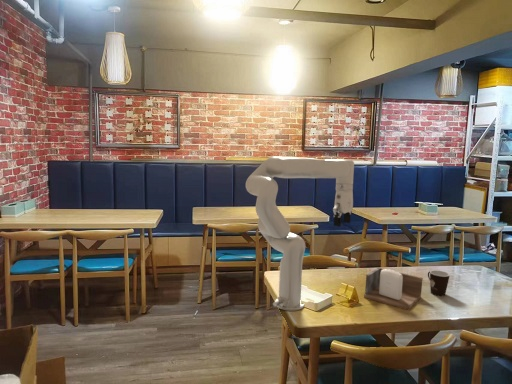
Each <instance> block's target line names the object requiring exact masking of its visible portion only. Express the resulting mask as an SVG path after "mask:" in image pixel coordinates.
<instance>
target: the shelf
mask: <svg viewBox="0 0 512 384" xmlns="http://www.w3.org/2000/svg"><path fill="white" fill-rule="evenodd" d="M383 269H384V268H382V267H381V268H380V267H376V268H375V269H374V270H372V271H370V272H369V273H367V274H365V276H366V277H365V288H364V289H365V291H364V294H363V298H364V299H367V300H370V301H375V302H378V303H383V304H386V305H389V306H393V307H396V308H399V309H403V310H408V311H409V310H410V309H411V308H412V307H413V306H414V305H415V304H416V303H417V302H418V301H419V300H420V299H421V298H422V290H423V277H420V276H417V275H412V274H407V273H403V272H399V273H400V274H402V276H403V282H402V297H401V299H400V300H397V299H393V298H390V297H387V296H384V295H381V294H379V285H380V273H381V270H383Z"/></svg>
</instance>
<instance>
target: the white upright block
mask: <svg viewBox="0 0 512 384" xmlns="http://www.w3.org/2000/svg"><path fill="white" fill-rule="evenodd" d="M382 269H383V270H381V273H380V285H379V294H381V295H384V296H387V297H390V298H393V299H397V300H400V299H401V297H402V282H403V276H402V274H400V273H401V272H399V271H397V270H393V269H389V268H387V269H386V268H382Z"/></svg>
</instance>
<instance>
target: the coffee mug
mask: <svg viewBox="0 0 512 384" xmlns="http://www.w3.org/2000/svg"><path fill="white" fill-rule="evenodd" d="M450 276H451V274H450V273H448V272H446V271H443V270H438V269H437V270H430V271H428V272H427V278H428V280H429V282H430V283H429V288H430V294H431V295H433V296H436V297H445V296H446V292H447V289H448V284H449V281H450Z"/></svg>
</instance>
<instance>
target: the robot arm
mask: <svg viewBox="0 0 512 384" xmlns="http://www.w3.org/2000/svg"><path fill="white" fill-rule="evenodd" d="M354 171H355V162H354V161H353V160H352V159H331V158H330V159H329V158H326V159H319V158H315V157H314V158H311V157H283V156H270V157H268V158H267V159H265V160H264V161H263V162H262V163H261V164H259V166H258V167H257V168H256V169H255V170H253V172H252V173H251V174H250V175H249V176H248V178H247V179H246V181H245V189H246V191H247V193H249V194H250V195H253V196H254V197H255V196H256V202H255V213H256V215H257V217H258V218H257V229H258V230H259V232H260V233H261V235H262V236H263V238H264V239H265V240H266V241H267V243H268V244H269V245H270V246H271V248H273V249H274V250H275V251H278V252H280V253H282V254H283V255H282V257H281V260H280V263H279V281H278V296H277V298H276V299H275V301H274V302H273V303H272V306H273V307H274V308H275V307H276V308H277V309H280V310H283V311H291V312H295V311H299V310H302V309H304V306H305V303H304V304H301V300H302V298H301V297H302V279H303V278H302V276H303V261H304V255H305V251H306V242H305V239H303V238H302V236H300V235H298V234H296V233H293V232H291V226H290V224H289V222H288V220H287V218H286V217H285V216H284V215H283V214H282V212H281V210H280V209H279V207H278V205H277V204H276V203H277V202H276V199H277V195H278V191H279V185H278V183H277V181H276V180H275V179H274V178H278V179H279V178H280V179H335V196H334V198H335V199H334V205H333V206H334V207H333V208H332V212H333V213H332V214H333V226H335V227H341V226H342V217H341V216H342V215H343V223H347V224H350V223H351V218H352V212H353V208H354V194H353V193H354V192H353V189H354V175H355V174H354Z"/></svg>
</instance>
